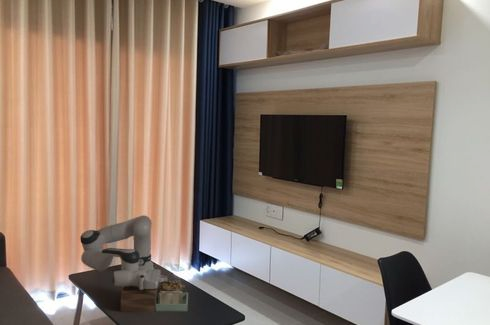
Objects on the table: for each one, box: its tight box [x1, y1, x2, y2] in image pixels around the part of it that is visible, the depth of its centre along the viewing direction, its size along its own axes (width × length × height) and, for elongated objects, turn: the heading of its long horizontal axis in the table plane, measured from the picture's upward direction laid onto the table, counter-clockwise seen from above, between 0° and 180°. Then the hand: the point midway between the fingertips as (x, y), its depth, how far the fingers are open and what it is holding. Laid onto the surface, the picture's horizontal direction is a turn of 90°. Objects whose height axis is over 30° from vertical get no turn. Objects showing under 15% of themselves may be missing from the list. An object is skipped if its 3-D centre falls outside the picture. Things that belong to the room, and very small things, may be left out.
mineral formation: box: [158, 279, 186, 293], centre depth 252 cm, size 8×13×15 cm
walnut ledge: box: [120, 286, 159, 313], centre depth 233 cm, size 16×18×10 cm
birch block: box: [160, 290, 183, 304], centre depth 237 cm, size 5×6×12 cm
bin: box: [155, 292, 189, 313], centre depth 236 cm, size 16×17×4 cm
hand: (167, 278), depth 234 cm, fingers closed
